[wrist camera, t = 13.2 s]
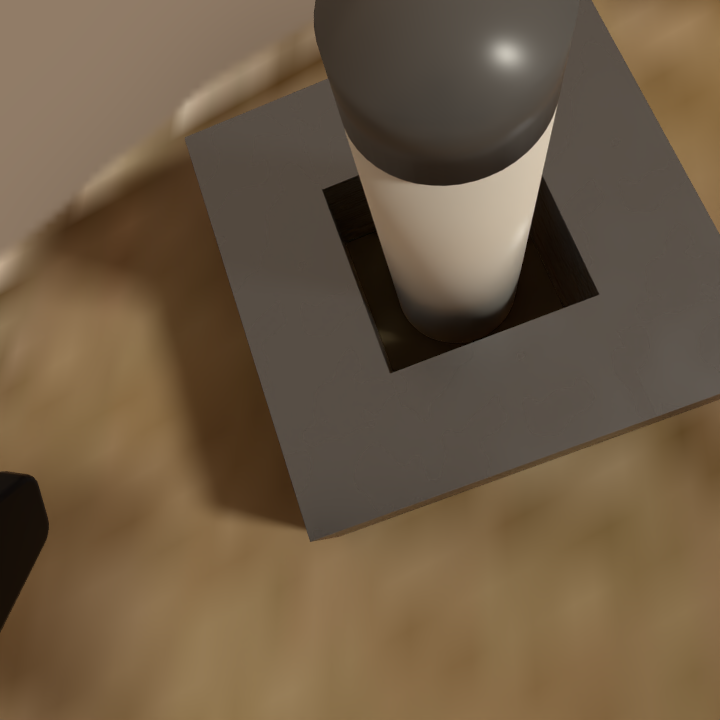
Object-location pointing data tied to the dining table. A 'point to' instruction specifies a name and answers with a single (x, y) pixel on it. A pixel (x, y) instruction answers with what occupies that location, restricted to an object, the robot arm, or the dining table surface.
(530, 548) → the dining table surface
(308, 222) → the gray rectangular frame
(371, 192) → the plug
